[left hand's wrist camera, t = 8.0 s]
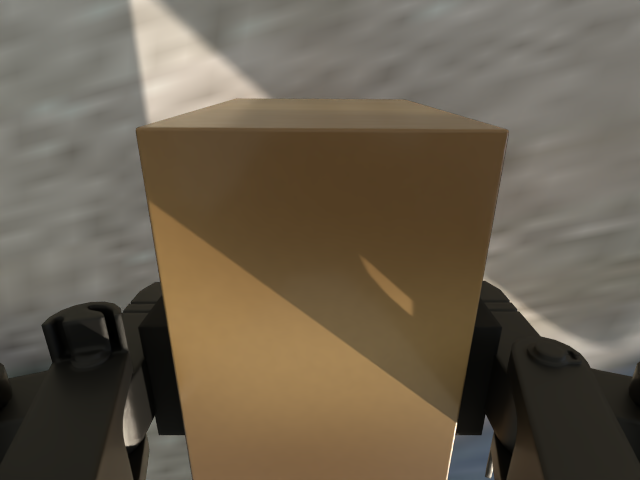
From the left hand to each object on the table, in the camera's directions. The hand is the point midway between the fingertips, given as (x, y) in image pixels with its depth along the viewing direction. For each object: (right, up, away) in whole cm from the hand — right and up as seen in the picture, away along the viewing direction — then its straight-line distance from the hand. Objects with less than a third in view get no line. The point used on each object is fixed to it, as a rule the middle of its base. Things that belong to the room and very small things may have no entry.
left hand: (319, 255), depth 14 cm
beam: (0, -26, +11) cm, 28 cm away
